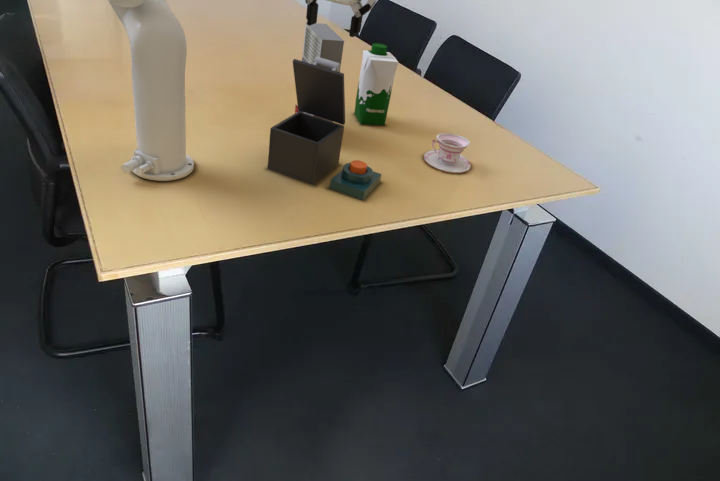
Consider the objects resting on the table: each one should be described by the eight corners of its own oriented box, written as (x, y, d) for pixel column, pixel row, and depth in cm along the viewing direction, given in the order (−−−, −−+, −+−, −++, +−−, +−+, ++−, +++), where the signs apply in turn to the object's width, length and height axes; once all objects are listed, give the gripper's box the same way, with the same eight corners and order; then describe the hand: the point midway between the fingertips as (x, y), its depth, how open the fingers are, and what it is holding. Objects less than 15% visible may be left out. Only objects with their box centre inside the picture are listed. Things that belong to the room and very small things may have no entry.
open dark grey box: (313, 185, 121) (319, 144, 116) (267, 169, 124) (270, 127, 119) (338, 164, 132) (344, 125, 126) (294, 149, 134) (298, 111, 129)
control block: (362, 200, 120) (366, 184, 117) (329, 188, 122) (331, 172, 119) (379, 182, 127) (383, 166, 125) (348, 171, 129) (350, 156, 127)
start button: (362, 176, 121) (363, 169, 120) (346, 171, 122) (348, 164, 121) (368, 170, 124) (369, 163, 123) (353, 165, 124) (354, 158, 123)
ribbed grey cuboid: (292, 119, 149) (302, 22, 135) (314, 119, 151) (326, 23, 138) (307, 142, 139) (319, 39, 125) (330, 142, 141) (344, 41, 127)
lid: (342, 75, 115) (353, 61, 118) (292, 60, 118) (304, 46, 120) (343, 125, 126) (353, 110, 128) (298, 110, 128) (308, 96, 131)
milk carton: (379, 114, 162) (392, 44, 151) (388, 127, 155) (403, 54, 144) (350, 112, 159) (361, 41, 148) (358, 126, 152) (371, 52, 141)
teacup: (465, 155, 148) (471, 133, 144) (474, 176, 138) (481, 153, 134) (420, 149, 146) (426, 127, 143) (426, 170, 137) (432, 147, 133)
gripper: (293, -71, 106) (286, 22, 115) (378, -52, 102) (363, 43, 111) (311, -73, 112) (303, 17, 121) (392, -55, 108) (377, 36, 117)
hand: (332, 29), depth 116 cm, fingers open, 9 cm apart
